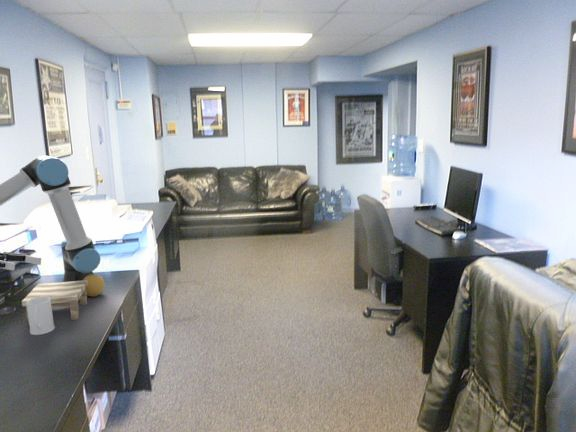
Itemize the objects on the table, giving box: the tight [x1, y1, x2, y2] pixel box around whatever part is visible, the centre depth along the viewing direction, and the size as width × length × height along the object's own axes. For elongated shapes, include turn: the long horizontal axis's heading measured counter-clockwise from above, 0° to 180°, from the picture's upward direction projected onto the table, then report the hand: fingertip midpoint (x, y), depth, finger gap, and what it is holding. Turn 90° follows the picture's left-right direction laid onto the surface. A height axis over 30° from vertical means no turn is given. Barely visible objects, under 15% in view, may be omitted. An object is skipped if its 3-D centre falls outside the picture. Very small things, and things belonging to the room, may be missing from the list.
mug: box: [26, 297, 56, 336], centre depth 174 cm, size 12×8×12 cm
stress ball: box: [83, 273, 106, 298], centre depth 210 cm, size 10×10×10 cm
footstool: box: [21, 280, 88, 325], centre depth 192 cm, size 20×20×10 cm
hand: (27, 264), depth 177 cm, fingers open, 13 cm apart
